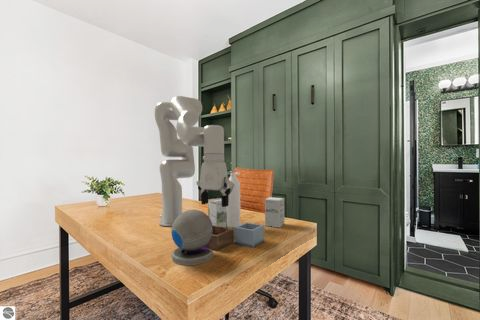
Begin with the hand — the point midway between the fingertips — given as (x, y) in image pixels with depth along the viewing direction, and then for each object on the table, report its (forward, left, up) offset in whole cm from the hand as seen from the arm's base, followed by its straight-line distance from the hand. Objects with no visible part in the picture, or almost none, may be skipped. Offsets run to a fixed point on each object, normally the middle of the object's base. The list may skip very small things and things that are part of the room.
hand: (214, 205), depth 87 cm
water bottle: (-8, +24, -14) cm, 29 cm away
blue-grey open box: (+10, +8, -14) cm, 19 cm away
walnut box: (0, 0, -14) cm, 14 cm away
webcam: (+1, -13, -15) cm, 19 cm away
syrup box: (-7, +10, -14) cm, 19 cm away
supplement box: (+8, +34, -15) cm, 38 cm away
